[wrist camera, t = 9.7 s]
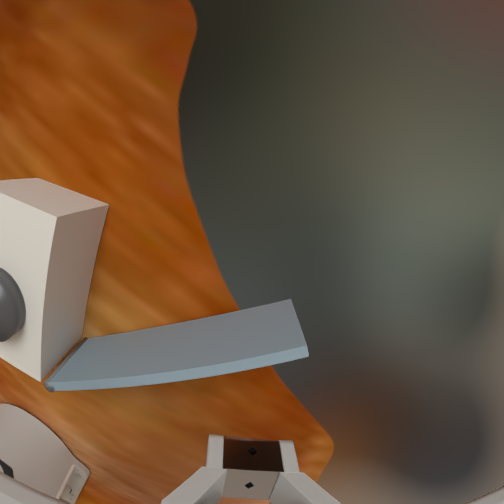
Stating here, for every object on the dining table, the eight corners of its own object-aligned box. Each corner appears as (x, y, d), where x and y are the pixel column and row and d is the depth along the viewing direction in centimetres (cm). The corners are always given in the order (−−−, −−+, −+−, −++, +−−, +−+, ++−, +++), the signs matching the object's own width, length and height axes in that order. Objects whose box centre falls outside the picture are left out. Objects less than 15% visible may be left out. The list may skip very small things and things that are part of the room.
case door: (89, 357, 27) (54, 403, 19) (81, 338, 26) (41, 381, 19) (295, 320, 26) (311, 371, 19) (290, 297, 26) (306, 343, 18)
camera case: (81, 337, 27) (31, 393, 17) (19, 304, 26) (-40, 344, 17) (109, 204, 24) (42, 220, 15) (37, 177, 23) (-37, 184, 14)
